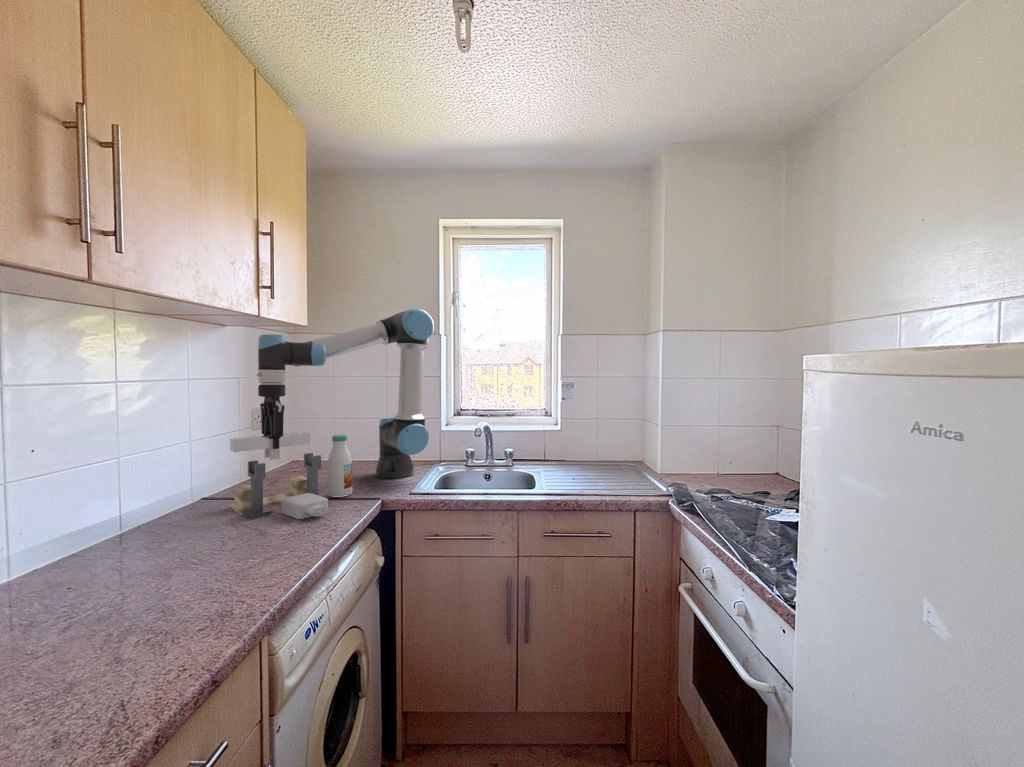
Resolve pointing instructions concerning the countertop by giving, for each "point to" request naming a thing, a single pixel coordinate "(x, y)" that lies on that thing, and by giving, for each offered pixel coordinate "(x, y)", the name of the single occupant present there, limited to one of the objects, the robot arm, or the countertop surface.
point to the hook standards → (258, 475)
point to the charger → (304, 506)
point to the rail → (268, 441)
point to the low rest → (244, 497)
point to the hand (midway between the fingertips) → (272, 457)
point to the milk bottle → (339, 468)
